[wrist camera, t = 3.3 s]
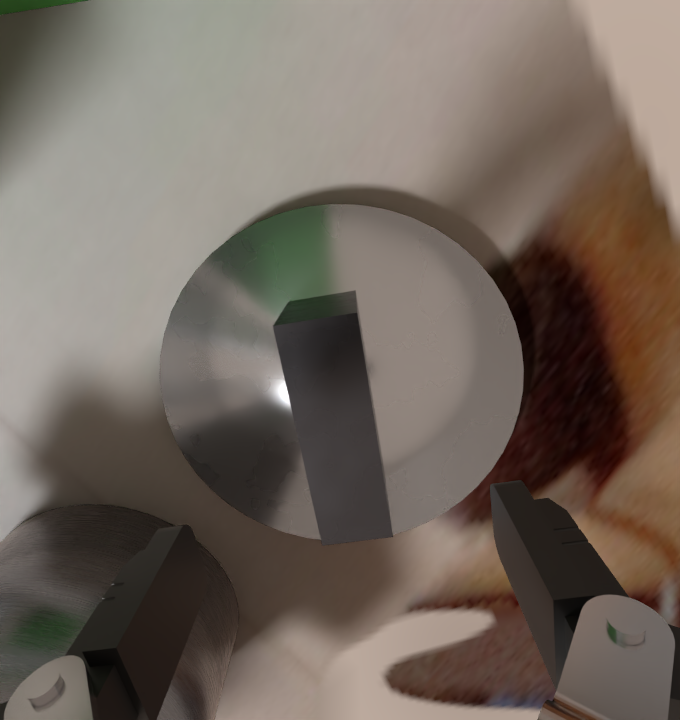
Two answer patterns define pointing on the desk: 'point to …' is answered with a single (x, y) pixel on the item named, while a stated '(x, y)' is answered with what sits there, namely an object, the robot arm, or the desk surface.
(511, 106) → the desk surface
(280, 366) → the lid
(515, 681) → the desk surface
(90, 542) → the pot
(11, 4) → the hardback book
